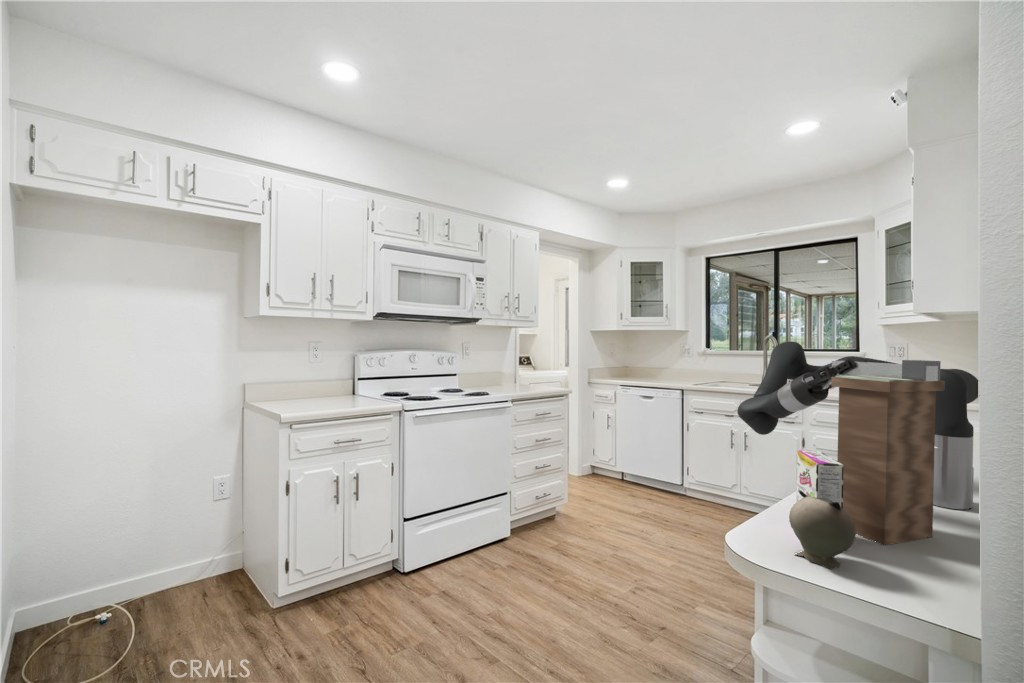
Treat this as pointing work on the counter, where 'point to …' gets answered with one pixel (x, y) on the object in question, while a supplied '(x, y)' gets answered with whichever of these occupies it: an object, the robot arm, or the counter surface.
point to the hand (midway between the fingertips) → (860, 362)
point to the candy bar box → (819, 476)
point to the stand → (887, 455)
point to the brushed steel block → (898, 370)
